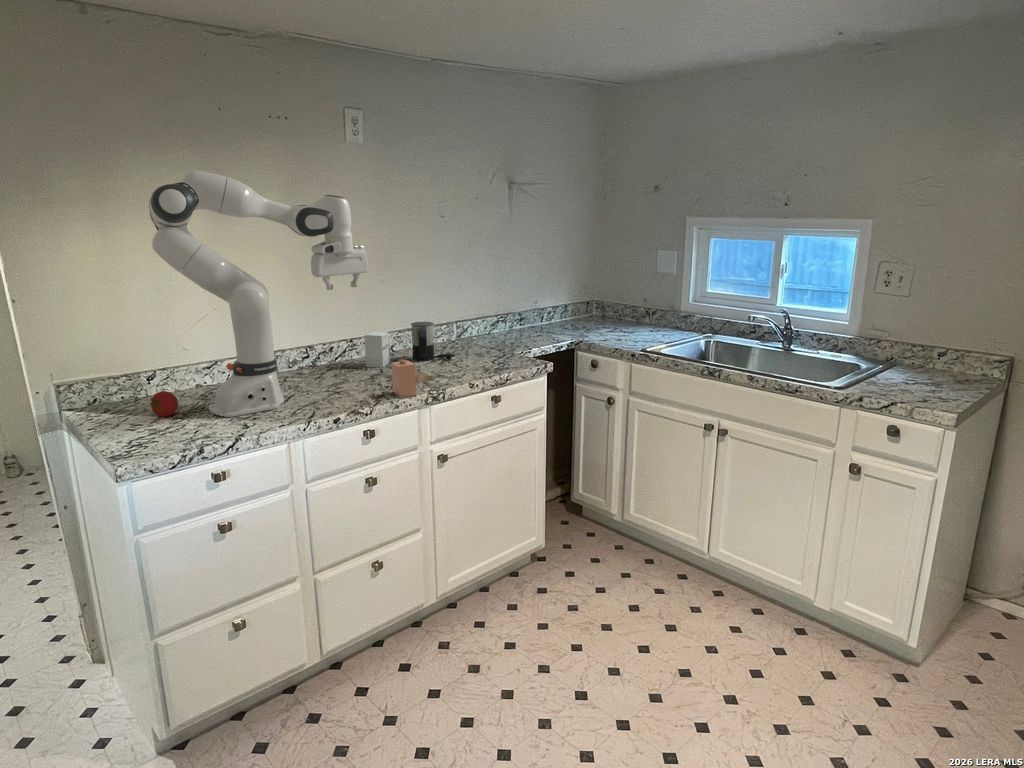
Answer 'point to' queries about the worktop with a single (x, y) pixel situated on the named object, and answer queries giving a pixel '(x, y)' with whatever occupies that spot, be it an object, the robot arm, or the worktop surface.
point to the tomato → (164, 404)
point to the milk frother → (424, 342)
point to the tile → (421, 377)
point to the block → (416, 372)
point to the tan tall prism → (404, 379)
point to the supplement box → (377, 349)
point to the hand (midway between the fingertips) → (342, 288)
